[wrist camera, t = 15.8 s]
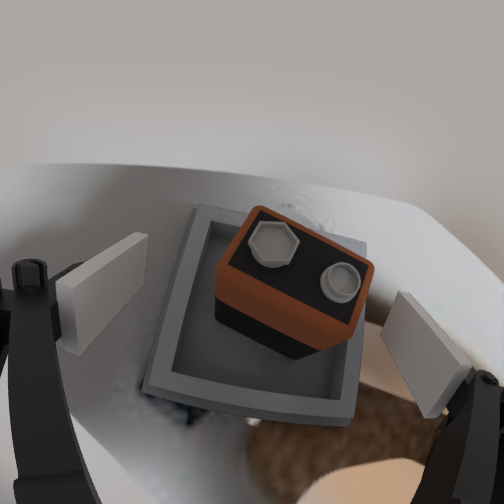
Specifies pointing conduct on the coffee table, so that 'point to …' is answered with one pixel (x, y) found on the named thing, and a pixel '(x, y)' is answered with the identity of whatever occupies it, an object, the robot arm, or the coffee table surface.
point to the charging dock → (242, 345)
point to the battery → (289, 286)
